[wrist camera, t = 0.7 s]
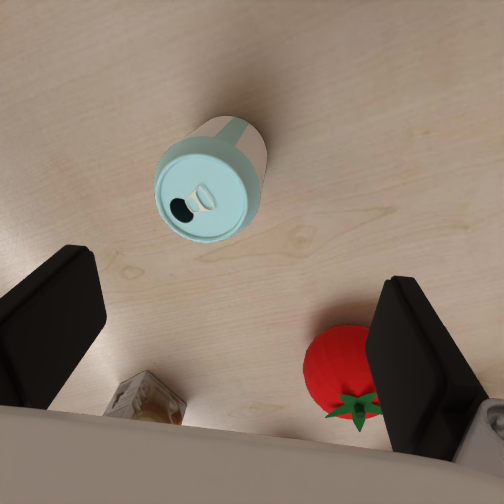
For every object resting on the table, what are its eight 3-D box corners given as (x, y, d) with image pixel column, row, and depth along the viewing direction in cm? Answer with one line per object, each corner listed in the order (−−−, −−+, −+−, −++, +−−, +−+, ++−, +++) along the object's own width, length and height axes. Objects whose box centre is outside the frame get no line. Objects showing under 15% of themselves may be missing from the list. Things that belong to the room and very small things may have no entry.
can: (248, 203, 32) (232, 267, 22) (182, 173, 32) (132, 226, 21) (280, 136, 29) (278, 174, 19) (207, 100, 28) (161, 120, 18)
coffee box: (189, 404, 49) (151, 539, 35) (159, 418, 51) (113, 548, 37) (146, 368, 46) (85, 499, 32) (116, 383, 48) (47, 513, 34)
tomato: (396, 360, 41) (426, 438, 32) (315, 376, 44) (323, 453, 35) (377, 296, 37) (407, 368, 28) (289, 319, 39) (290, 390, 31)
